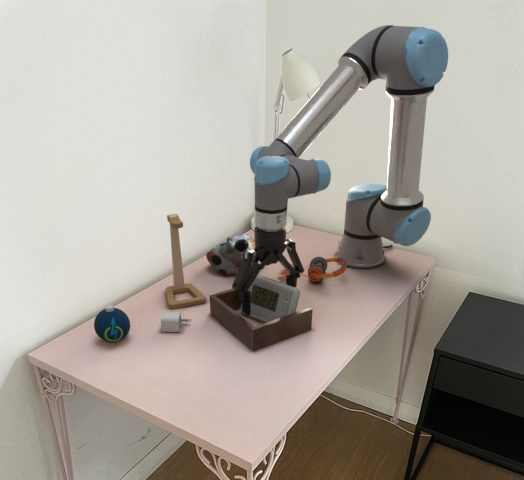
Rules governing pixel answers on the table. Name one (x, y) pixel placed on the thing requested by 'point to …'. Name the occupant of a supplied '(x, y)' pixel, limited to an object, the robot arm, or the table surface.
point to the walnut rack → (261, 334)
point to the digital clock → (271, 299)
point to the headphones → (321, 268)
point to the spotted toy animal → (230, 254)
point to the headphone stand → (179, 270)
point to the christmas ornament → (112, 324)
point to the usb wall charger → (173, 322)
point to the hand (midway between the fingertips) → (268, 306)
